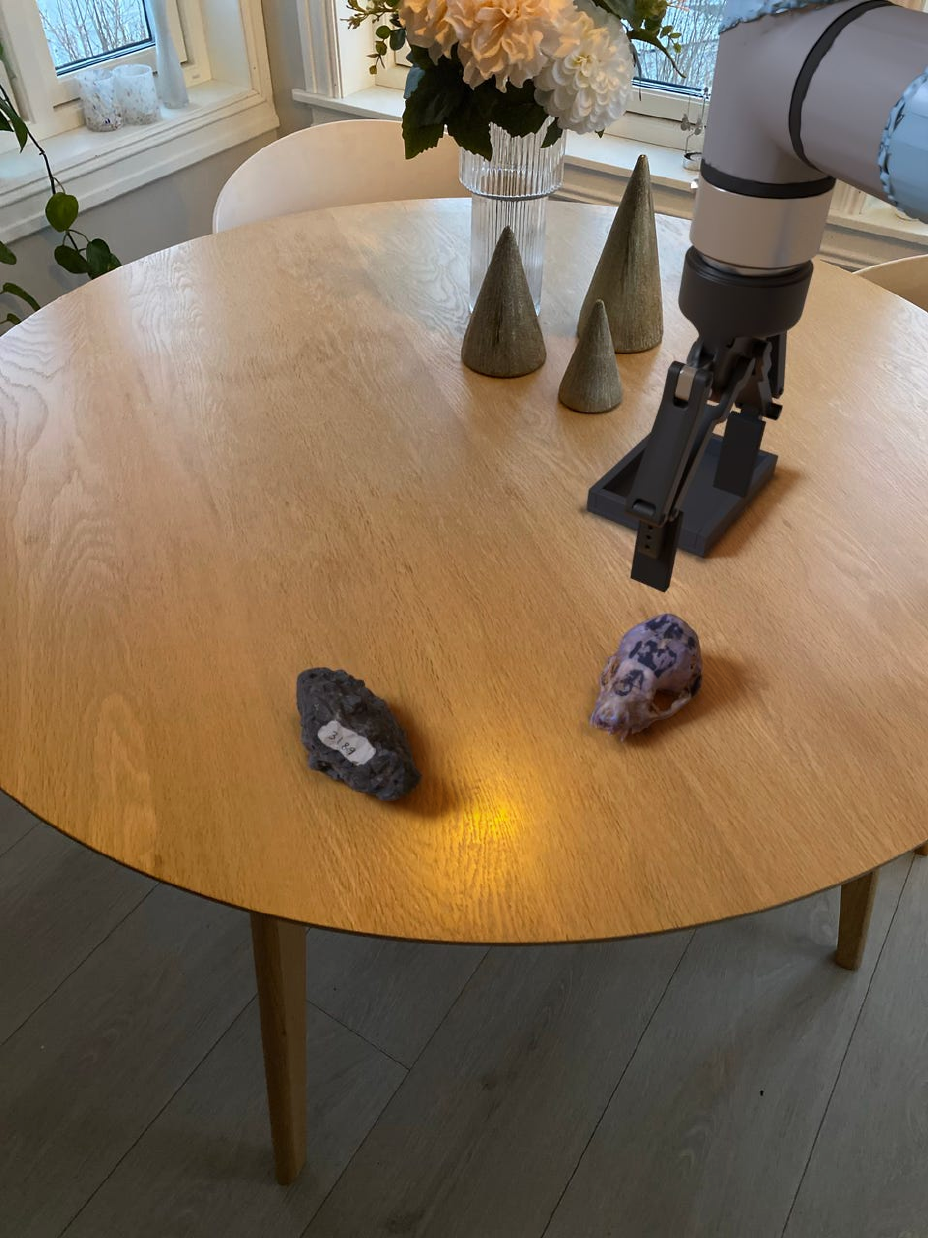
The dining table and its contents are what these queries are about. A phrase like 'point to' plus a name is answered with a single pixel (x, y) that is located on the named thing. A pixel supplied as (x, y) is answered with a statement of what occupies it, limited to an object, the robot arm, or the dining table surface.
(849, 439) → the dining table surface
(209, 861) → the dining table surface
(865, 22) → the robot arm
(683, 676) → the skull
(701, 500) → the tray
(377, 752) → the rock
